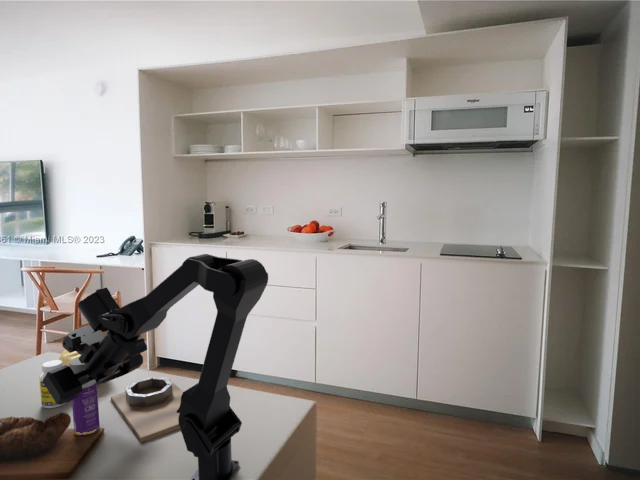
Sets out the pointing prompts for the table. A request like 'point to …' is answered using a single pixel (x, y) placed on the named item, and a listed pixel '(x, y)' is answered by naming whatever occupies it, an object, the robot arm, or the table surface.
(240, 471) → the table surface
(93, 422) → the container
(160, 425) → the wooden board
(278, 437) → the table surface
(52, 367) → the supplement bottle
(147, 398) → the iron collar
